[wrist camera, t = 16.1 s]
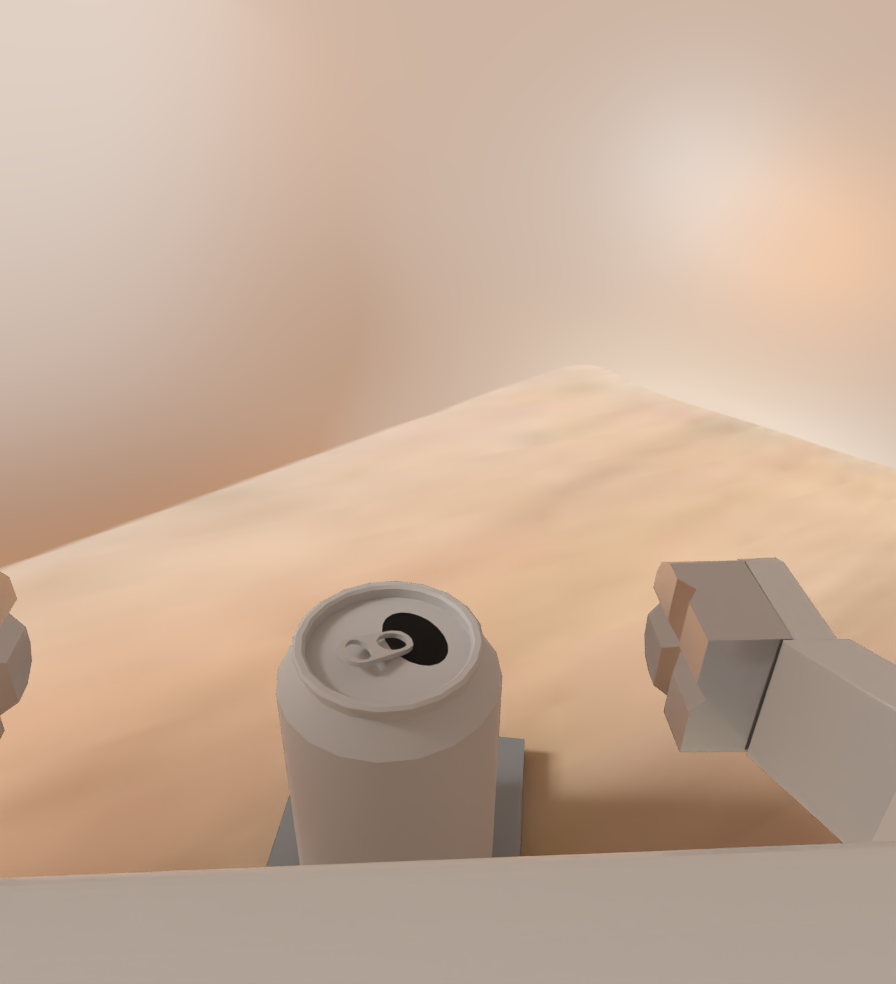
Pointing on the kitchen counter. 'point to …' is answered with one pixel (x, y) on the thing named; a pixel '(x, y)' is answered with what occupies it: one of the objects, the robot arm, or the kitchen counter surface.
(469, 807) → the can
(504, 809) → the slate tile
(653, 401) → the kitchen counter surface
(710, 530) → the kitchen counter surface
